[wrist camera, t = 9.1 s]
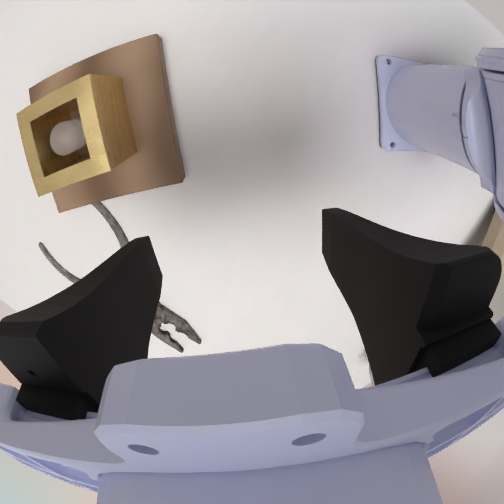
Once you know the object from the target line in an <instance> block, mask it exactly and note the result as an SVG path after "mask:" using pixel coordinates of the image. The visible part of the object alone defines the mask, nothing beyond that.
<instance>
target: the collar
mask: <svg viewBox="0 0 504 504" xmlns="http://www.w3.org/2000/svg"><path fill="white" fill-rule="evenodd" d="M77 109H79V113H80V117H81V122H82V126H83V131H84V135H85V139H86V143H87V147H88V151H89V154H88V155H85V156H82V157H80V154H79V150H76V151H74V152H72V153H69V154H67V155H64V156H61V155H58V154H56V153H55V152H54V151H53V149H52V147H51V144H50V135H51V132H52V130H53V128H54V127H55V126H56V125H57V124H58V123H60V122H64V121H68V120H71V116H70V113H71V112H73V111H75V110H77ZM17 119H18V125H19V129H20V134H21V138H22V143H23V147H24V151H25V155H26V158H27V162H28V166H29V169H30V172H31V176H32V179H33V182H34V185H35V188H36V191H37V194H38V197H40V196H42V195H45V194H47V193H50V192H52V191H55V190H57V189H60V188H62V187H65V186H68V185H70V184H73V183H76V182H79V181H82V180H84V179H87V178H90V177H93V176H96V175H99V174H102V173H105V172H109V171H111V170H113V169H114V168H115V167H117V166H118V165H120V164H121V163H122V162H124V161H125V160H127V159H128V158H130V157H131V156H133V155H134V154H136V153H137V148H136V144H135V139H134V135H133V131H132V126H131V122H130V117H129V112H128V108H127V103H126V97H125V92H124V87H123V81H122V78H120V77H113V76H105V75H96V74H88V75H85V76H83V77H81V78H79V79H77V80H75V81H73V82H71V83H69V84H67V85H65V86H63V87H61V88H59V89H57V90H55V91H53V92H52V93H50V94H48V95H46V96H44V97H43V98H41V99H39V100H38V101H36V102H34V103H33V104H31V105H29V106H28V107H26V108H25V109H23V110H22V111H20V112H19V113H17Z"/></svg>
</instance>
